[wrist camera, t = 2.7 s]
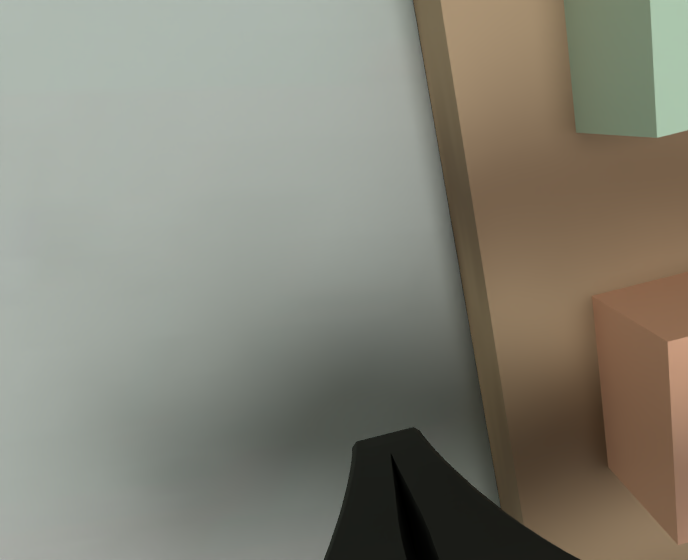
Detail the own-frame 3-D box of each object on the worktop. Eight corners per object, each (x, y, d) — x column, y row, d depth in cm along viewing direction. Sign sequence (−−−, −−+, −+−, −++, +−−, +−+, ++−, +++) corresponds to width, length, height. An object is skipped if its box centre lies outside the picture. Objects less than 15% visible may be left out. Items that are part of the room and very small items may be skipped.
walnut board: (830, 465, 16) (900, 510, 14) (507, 548, 16) (536, 606, 14) (876, -409, 10) (1010, -529, 8) (362, -291, 10) (379, -385, 8)
